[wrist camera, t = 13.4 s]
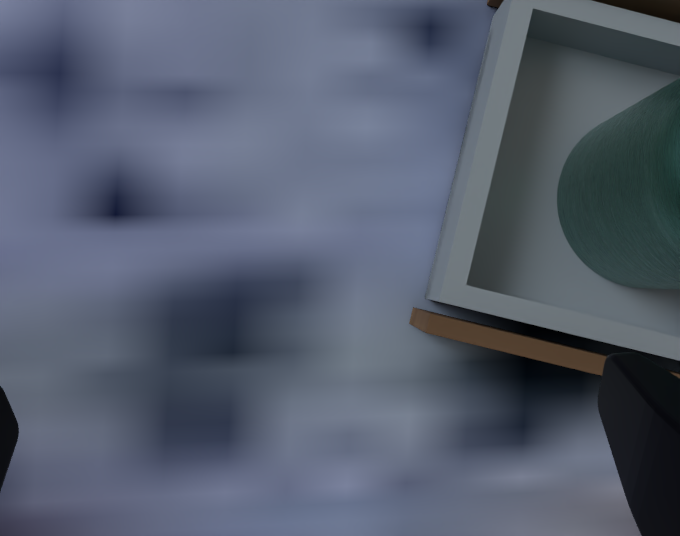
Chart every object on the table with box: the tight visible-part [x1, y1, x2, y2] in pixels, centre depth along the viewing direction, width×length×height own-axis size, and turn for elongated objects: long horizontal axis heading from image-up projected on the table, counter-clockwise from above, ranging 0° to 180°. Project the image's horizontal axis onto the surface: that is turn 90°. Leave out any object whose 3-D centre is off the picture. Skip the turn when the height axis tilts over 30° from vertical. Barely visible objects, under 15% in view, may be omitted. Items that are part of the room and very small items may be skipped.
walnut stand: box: [409, 0, 680, 378], centre depth 18 cm, size 10×10×3 cm
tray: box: [425, 0, 680, 361], centre depth 18 cm, size 9×9×2 cm
